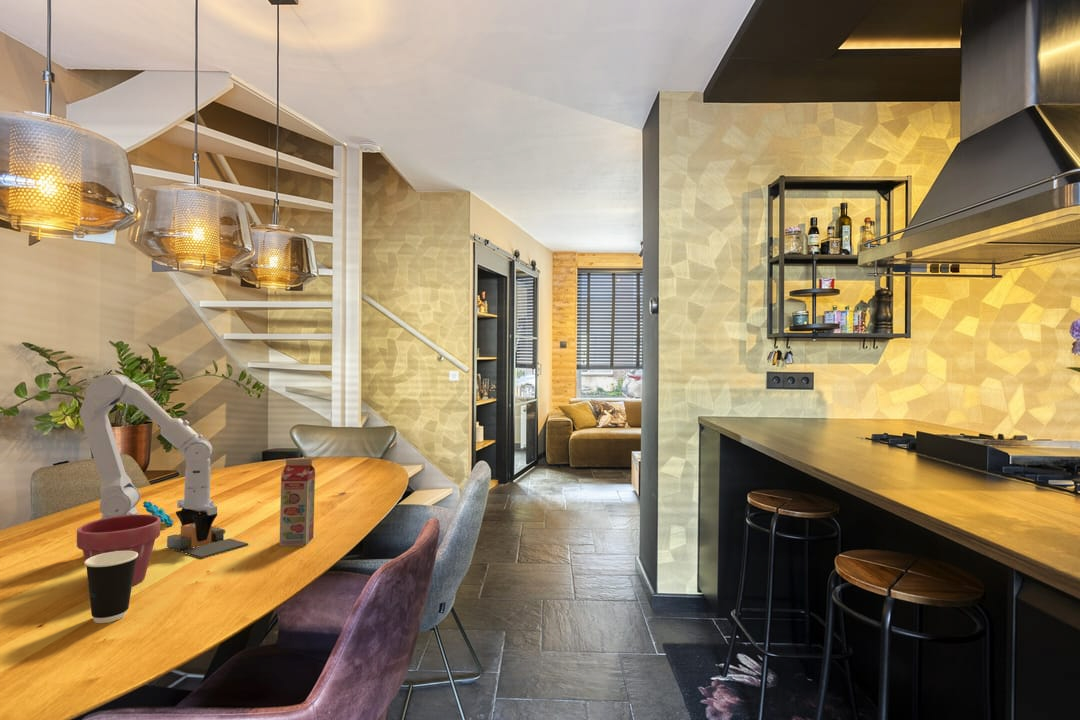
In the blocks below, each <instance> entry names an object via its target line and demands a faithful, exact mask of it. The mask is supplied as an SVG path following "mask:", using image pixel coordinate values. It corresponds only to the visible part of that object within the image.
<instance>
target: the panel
mask: <svg viewBox="0 0 1080 720" xmlns="http://www.w3.org/2000/svg"><path fill="white" fill-rule="evenodd" d="M247 546H249V543H248V542H245V541H240V540H237V539H234V538H226V539H224V540H221V541H218V542H211V543H210V544H206V545H202V546H199V547H195V548H189V549H188V550H184V551H183V552H182V554H185V553H187V554H186V555H188V554H190V555H189V556H191V555H193V556H192V557H194V556H196V557H195V558H198V557H199V558H198V559H201V558H202V559H205V558H204V557H206V558H209V557H212V556H211V555H213V556H215V554H216V555H220V554H223V553H227V552H229V551H233V550H236V549H240V548H243V547H247ZM226 551H227V552H226ZM219 553H220V554H219ZM208 556H209V557H208Z"/></svg>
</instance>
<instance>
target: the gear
mask: <svg viewBox="0 0 1080 720" xmlns="http://www.w3.org/2000/svg"><path fill="white" fill-rule="evenodd" d="M142 504H143V505H142V507H144V508H145V510H146V512H148V513H150V514H151V515H154V516H158V517H159V518H160V524H164V525H165V526H167V527H169V526H170V525H172V526H173V525H174V520H173V519H172V518H171V516H170V515H169V514H167V513H166V511H165V510H164V508H162V507H161V508H159V506H158V505H157V504H153V502H151V501H147V500H144V502H142ZM170 527H171V526H170Z"/></svg>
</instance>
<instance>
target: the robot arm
mask: <svg viewBox="0 0 1080 720" xmlns="http://www.w3.org/2000/svg"><path fill="white" fill-rule="evenodd" d="M117 403H121V404H127V405H131V406H134V407H136V408H137V409H138V410H139V411H141V412H142V413H143V414H145V415H146V416H147V417H148V418H149V419H151V421H153V422H155V424H157V425H158V426H159V427H160V435H161V436H162V437H163V439H165V440H166V441H168V442H169V444H171V445H172V446H173V447H175V449H177V451H179V452H182V453H183V454H182V456H183V459H184V461H185V470H184V495H183V497H184V498H182V499H177V502H176V503H177V504H176V505H177V508H178V509H181V510H177V511H176V512H175V514H176V516H177V518H178V520H179V521H180V525H181V526H182V525H186V524H190V523H195V527H196V537H197V541H199V542H200V541H204V540H207V537H208V534H209V531H210V528H211V525H212V524H213V523H214V521H215V519H216V518H217V517H218V506H217V505H215V504H214V503H215V502H214V501H215V500H212V499H211V478H212V477H211V464H212V463H211V462H212V461H211V458H210V456H211V455H212V453H213V446H212V443H210V441H209V440H208V439H207V438H204V435H202V434H201V433H200V434H199V433H197V432H196V431H195V430H194V429H193V428H192V427H190V426H189V424H190V422H189V421H188V420H187V419H185V420H183V419H182V418H181V417H174V418H173V417H172V416H171V415H170V414H169V413H167V411H166V410H165V409H164V408H163V407H161V406H160V404H158V402H156V401H155V400H154V399H153V397H151V396H150V395H149V394H148V392H146V390H144V389H143V388H142V387H141V386H140V385H139V384H138V383H135V382H134V381H132V379H130V377H128V376H126V375H125V374H120V373H115V374H103V375H100V376H97V377H96V378H94V380H93V381H92V382H91V383H90V384H89V385H88V386H87V387H86V394H85V397H84V399H83V401H82V404H81V407H80V409H79V417H80V420H81V421H82V427H83V430H84V432H85V436H86V438H87V440H88V444H89V448H90V451H91V454H92V458H93V460H94V464H95V467H96V470H97V474H98V477H99V479H100V487H99V494H100V499H101V500H100V503H99V511H100V512H101V513H102V514H101V518H99V519H98V520H100V519H105V518H110V517H116V516H124V515H139V511H138V510H137V508H136V506H137V504H139V502H140V500H141V492H140V490H138V488H137V487H135V486H134V484H133V482H132V479H131V478H130V477H129V475H128V474H127V473H126V470H125V466H124V464H123V460H122V456H121V454H120V451H119V447H118V444H117V441H116V438H115V435H114V432H113V427H112V424H111V421H110V419H109V413H110V411H111V410H112V409H113V408H114V407H115V405H116V404H117ZM93 521H94V520H93ZM93 521H91V522H93Z"/></svg>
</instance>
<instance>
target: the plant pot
mask: <svg viewBox="0 0 1080 720" xmlns="http://www.w3.org/2000/svg"><path fill="white" fill-rule="evenodd" d="M99 519H100V520H99ZM99 519H96V520H93V522H92V521H90V522H87V523H85V524H82V525H81V526H79V527H78V528H77V530H76V547H77V549H79V550H82V554H83V559H84V562H85V561H86V560H87V559H88V558H90V557H93V556H96V555H99V554H103V553H108V552H115V551H134V552H137V553H138V557H137V558H136V563H135V569H134V576H133V582H132V586H134V585H137V584H139V583H142V582H143V581H144V580H145V578H146V575H147V571H148V568H149V567H148V566H149V564H150V561H151V557H152V553H153V549H154V546H155V541H156V539H158V538H159V537H160V535H161V522H160V518H159V517H158V516H154V515H152V514H138V515H124V516H116V517H110V518H105V519H101V518H99Z"/></svg>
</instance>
